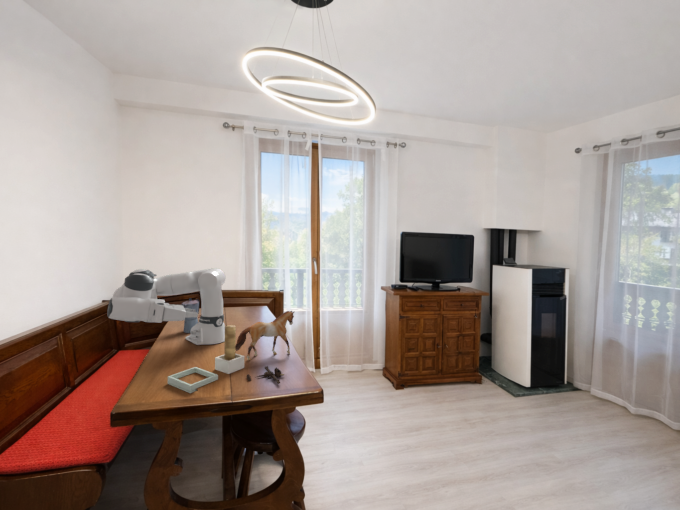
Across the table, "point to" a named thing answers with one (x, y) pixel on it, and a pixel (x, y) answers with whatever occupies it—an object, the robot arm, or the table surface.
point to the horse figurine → (266, 332)
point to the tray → (191, 388)
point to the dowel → (230, 342)
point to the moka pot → (191, 320)
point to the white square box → (229, 364)
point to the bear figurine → (269, 375)
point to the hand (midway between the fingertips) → (196, 313)
